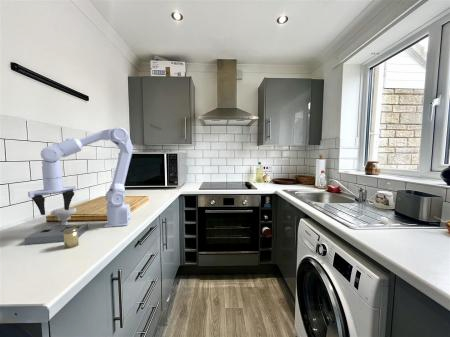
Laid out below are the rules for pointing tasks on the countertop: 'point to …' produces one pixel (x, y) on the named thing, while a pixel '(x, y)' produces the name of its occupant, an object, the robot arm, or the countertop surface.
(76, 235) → the pipe stub
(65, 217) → the showerhead
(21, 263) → the countertop surface
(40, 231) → the fitting plate
